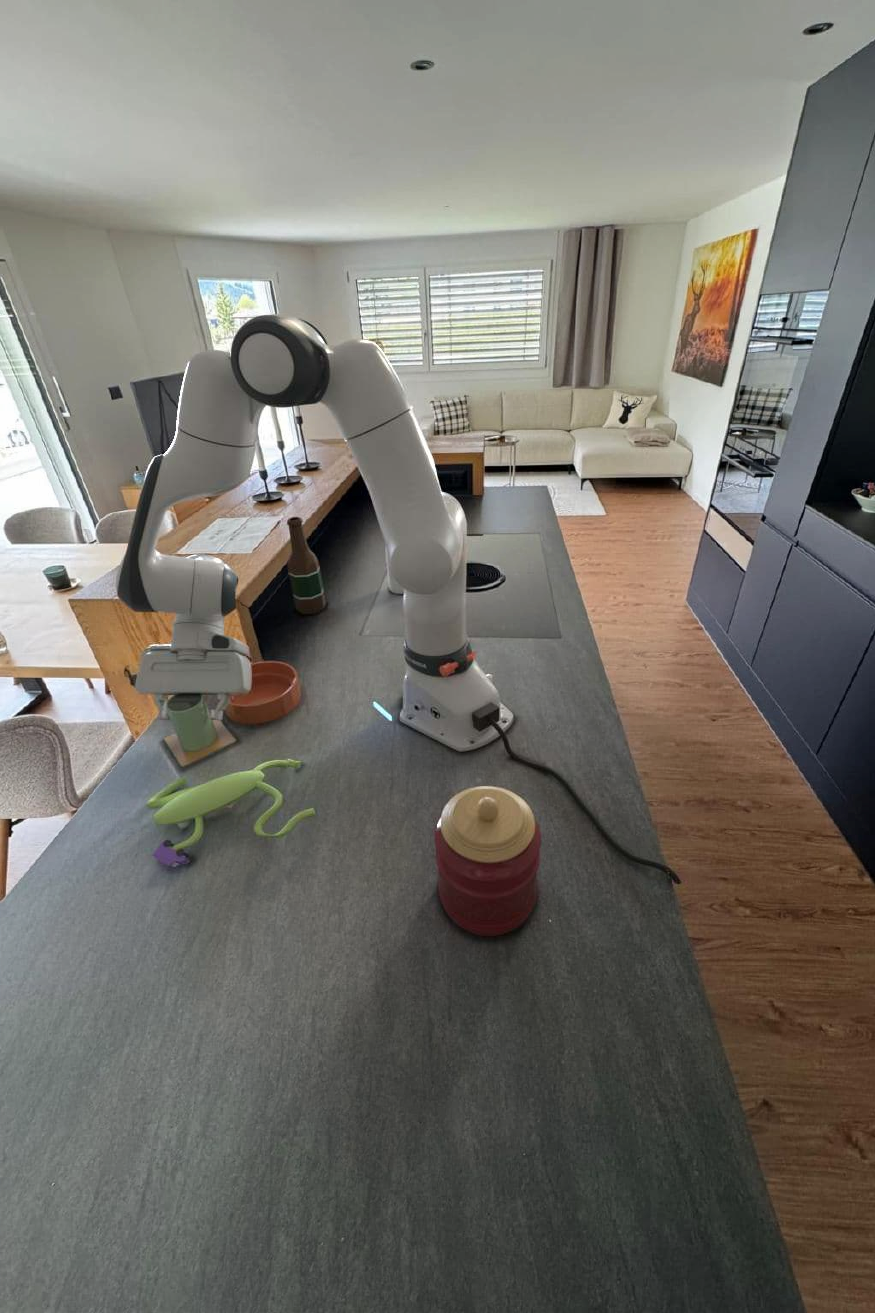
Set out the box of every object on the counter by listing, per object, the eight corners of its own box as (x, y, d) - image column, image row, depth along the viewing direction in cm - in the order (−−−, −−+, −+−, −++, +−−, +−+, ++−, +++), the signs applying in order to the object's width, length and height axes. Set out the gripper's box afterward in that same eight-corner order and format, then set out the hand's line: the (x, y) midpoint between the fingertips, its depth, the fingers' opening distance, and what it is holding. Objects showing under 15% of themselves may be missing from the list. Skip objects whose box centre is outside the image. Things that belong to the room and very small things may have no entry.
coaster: (237, 743, 102) (236, 740, 101) (182, 769, 96) (181, 767, 96) (216, 717, 108) (215, 715, 108) (164, 741, 103) (163, 738, 103)
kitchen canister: (476, 836, 82) (475, 747, 72) (554, 884, 75) (564, 792, 65) (418, 900, 74) (408, 809, 64) (500, 960, 67) (503, 869, 57)
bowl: (315, 703, 110) (311, 683, 108) (244, 737, 103) (237, 717, 100) (281, 672, 120) (276, 652, 118) (213, 701, 113) (206, 681, 110)
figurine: (318, 851, 81) (312, 825, 78) (126, 884, 78) (111, 859, 75) (319, 763, 96) (313, 739, 93) (158, 787, 93) (147, 763, 90)
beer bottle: (290, 612, 143) (270, 522, 130) (307, 599, 149) (289, 511, 136) (316, 617, 140) (298, 525, 127) (332, 603, 146) (317, 514, 133)
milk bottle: (413, 595, 148) (408, 523, 137) (386, 594, 149) (378, 522, 138) (420, 582, 154) (415, 512, 143) (393, 581, 155) (386, 511, 144)
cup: (222, 740, 102) (209, 701, 97) (187, 756, 98) (172, 717, 93) (209, 723, 106) (196, 685, 101) (175, 738, 102) (160, 700, 97)
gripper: (132, 641, 99) (123, 718, 96) (243, 639, 98) (237, 718, 95) (152, 648, 105) (144, 721, 102) (257, 647, 104) (252, 721, 101)
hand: (190, 720), depth 99 cm, fingers open, 8 cm apart
